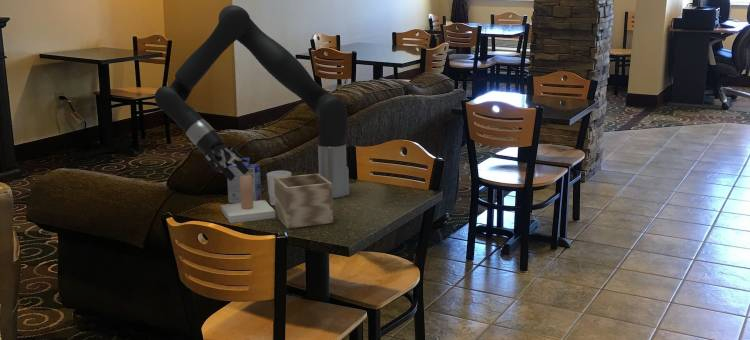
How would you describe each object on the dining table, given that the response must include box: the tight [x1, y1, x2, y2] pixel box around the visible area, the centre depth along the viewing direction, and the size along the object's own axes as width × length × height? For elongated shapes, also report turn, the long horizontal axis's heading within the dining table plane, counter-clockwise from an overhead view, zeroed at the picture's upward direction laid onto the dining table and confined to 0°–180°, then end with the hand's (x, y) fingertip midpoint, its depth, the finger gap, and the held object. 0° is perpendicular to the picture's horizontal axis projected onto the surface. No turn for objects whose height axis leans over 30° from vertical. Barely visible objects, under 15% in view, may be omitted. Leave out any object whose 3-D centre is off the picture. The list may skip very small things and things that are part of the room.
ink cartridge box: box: [226, 156, 263, 204], centre depth 265 cm, size 10×6×14 cm, turn 78°
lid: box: [220, 175, 276, 220], centre depth 249 cm, size 14×14×11 cm
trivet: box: [220, 208, 277, 224], centre depth 251 cm, size 14×14×1 cm
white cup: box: [266, 170, 292, 207], centre depth 262 cm, size 8×8×10 cm
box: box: [274, 173, 334, 229], centre depth 243 cm, size 14×14×12 cm
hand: (240, 175), depth 249 cm, fingers open, 8 cm apart
